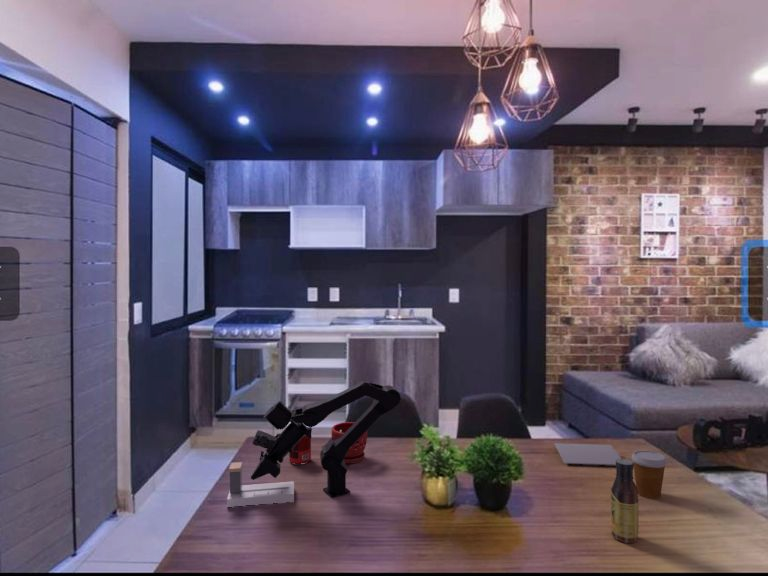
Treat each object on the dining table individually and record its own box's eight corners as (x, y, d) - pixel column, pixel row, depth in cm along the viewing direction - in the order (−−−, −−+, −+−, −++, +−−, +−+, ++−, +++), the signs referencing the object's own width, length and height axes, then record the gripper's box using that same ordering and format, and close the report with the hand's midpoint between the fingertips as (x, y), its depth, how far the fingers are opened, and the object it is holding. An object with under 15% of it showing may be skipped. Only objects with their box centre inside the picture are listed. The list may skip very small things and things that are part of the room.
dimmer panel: (294, 489, 152) (293, 481, 152) (294, 502, 143) (293, 493, 143) (231, 494, 149) (230, 486, 149) (227, 507, 140) (226, 499, 140)
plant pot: (325, 464, 173) (325, 430, 173) (339, 451, 186) (339, 420, 185) (360, 468, 169) (360, 433, 169) (372, 455, 182) (372, 423, 182)
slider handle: (242, 486, 147) (242, 462, 147) (240, 493, 143) (240, 468, 142) (231, 487, 147) (231, 462, 147) (229, 494, 142) (229, 468, 142)
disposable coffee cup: (630, 497, 146) (631, 457, 146) (631, 485, 154) (631, 447, 154) (667, 504, 141) (667, 463, 141) (665, 491, 150) (666, 452, 150)
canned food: (313, 457, 179) (313, 427, 179) (307, 465, 171) (307, 434, 171) (293, 456, 180) (292, 427, 180) (286, 465, 172) (286, 434, 172)
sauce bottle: (614, 529, 127) (614, 454, 127) (640, 537, 123) (641, 459, 123) (607, 539, 122) (607, 461, 122) (634, 548, 118) (635, 467, 118)
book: (549, 451, 186) (549, 441, 186) (611, 453, 184) (612, 443, 184) (559, 467, 171) (559, 456, 171) (628, 469, 168) (628, 458, 168)
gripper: (270, 413, 155) (235, 450, 154) (266, 431, 137) (227, 473, 135) (295, 435, 157) (261, 472, 155) (295, 456, 139) (257, 498, 137)
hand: (251, 478), depth 146 cm, fingers closed
